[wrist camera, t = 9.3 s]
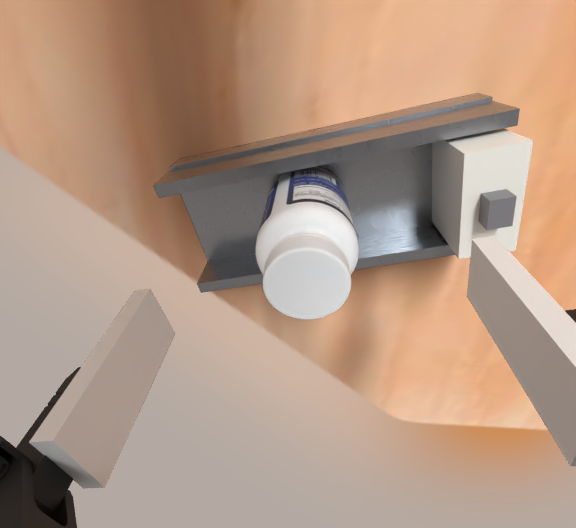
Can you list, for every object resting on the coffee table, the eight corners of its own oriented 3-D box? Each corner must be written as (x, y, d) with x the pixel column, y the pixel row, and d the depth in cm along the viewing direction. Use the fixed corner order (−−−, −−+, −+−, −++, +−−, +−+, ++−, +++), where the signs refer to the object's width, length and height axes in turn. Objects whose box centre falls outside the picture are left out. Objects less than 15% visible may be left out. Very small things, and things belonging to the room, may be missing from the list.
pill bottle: (297, 249, 25) (291, 346, 17) (252, 193, 23) (220, 273, 15) (361, 212, 23) (389, 301, 15) (319, 146, 21) (324, 209, 13)
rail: (179, 159, 24) (151, 182, 20) (477, 93, 21) (520, 104, 16) (218, 258, 28) (202, 294, 24) (468, 216, 25) (500, 250, 21)
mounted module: (432, 132, 20) (473, 159, 15) (485, 121, 20) (545, 145, 15) (431, 221, 23) (465, 268, 18) (477, 213, 23) (525, 260, 18)
